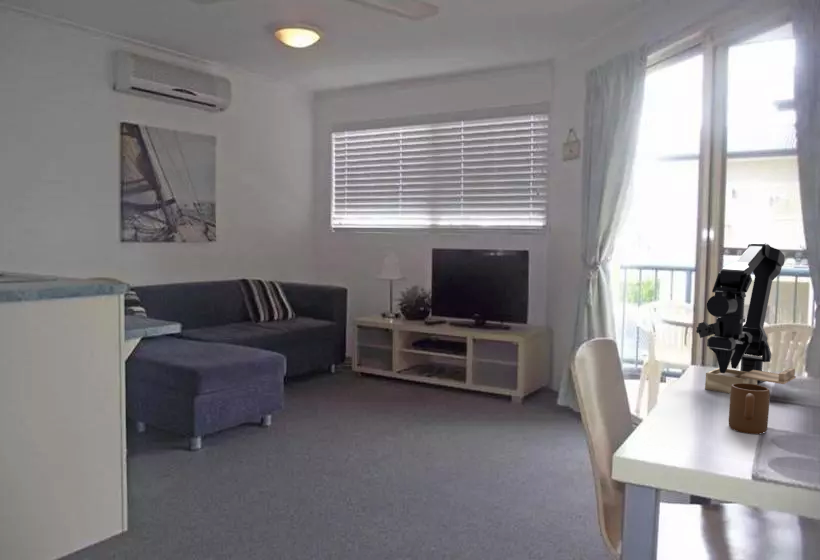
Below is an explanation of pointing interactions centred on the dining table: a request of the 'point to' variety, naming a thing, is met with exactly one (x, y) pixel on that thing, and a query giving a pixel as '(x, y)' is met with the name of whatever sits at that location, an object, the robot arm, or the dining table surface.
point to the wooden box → (725, 380)
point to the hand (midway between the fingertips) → (728, 370)
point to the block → (729, 374)
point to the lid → (771, 376)
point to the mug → (749, 408)
